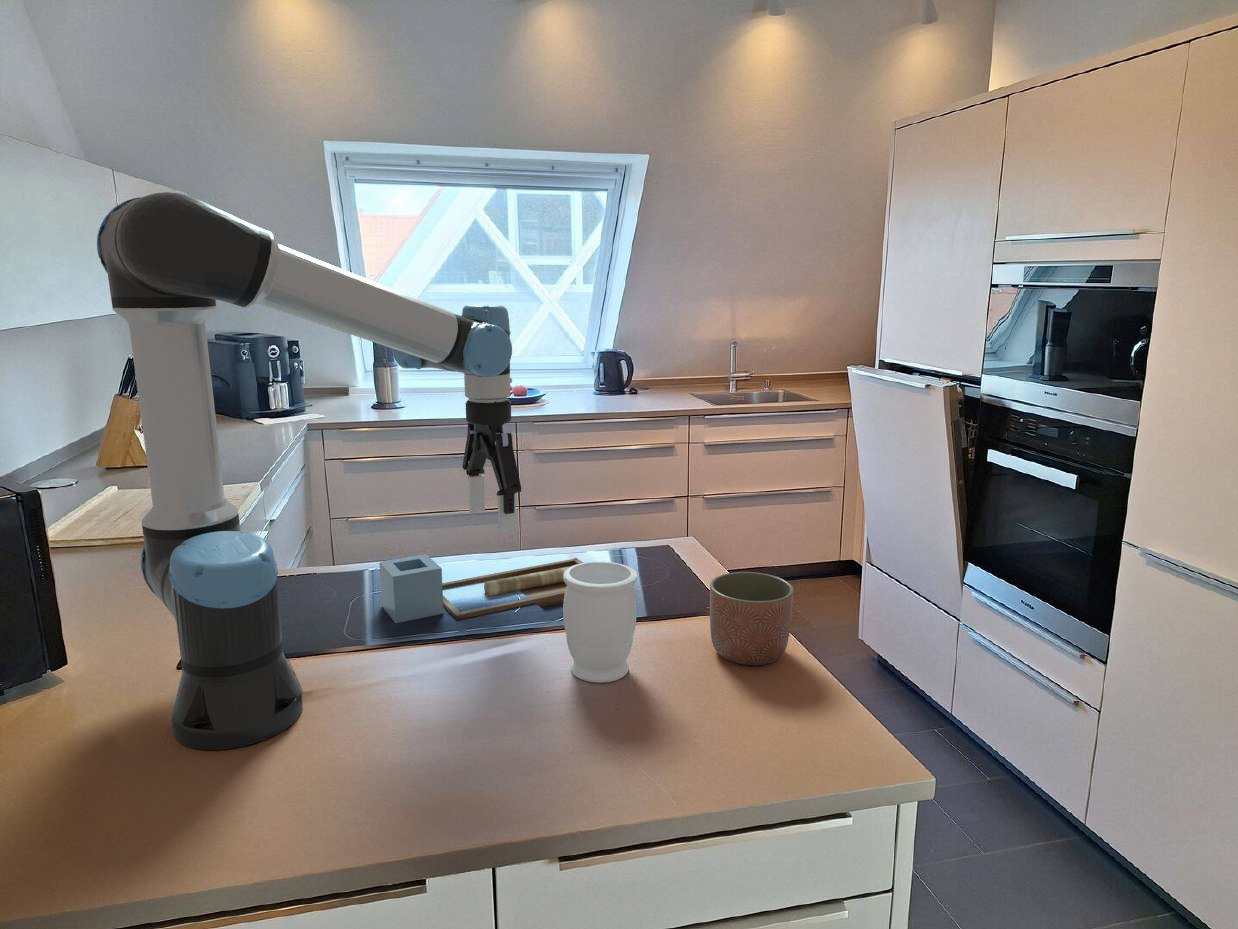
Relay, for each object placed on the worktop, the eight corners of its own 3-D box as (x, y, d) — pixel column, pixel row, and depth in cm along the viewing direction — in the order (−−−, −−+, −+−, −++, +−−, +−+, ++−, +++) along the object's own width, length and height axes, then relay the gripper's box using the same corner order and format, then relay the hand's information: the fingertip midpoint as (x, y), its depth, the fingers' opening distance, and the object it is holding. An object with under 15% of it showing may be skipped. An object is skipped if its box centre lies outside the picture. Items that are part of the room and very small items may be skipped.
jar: (650, 670, 119) (652, 572, 116) (600, 695, 112) (601, 592, 108) (598, 647, 126) (598, 555, 123) (548, 670, 119) (547, 572, 115)
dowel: (496, 621, 144) (593, 577, 153) (485, 585, 142) (584, 542, 151) (491, 617, 146) (587, 574, 155) (480, 581, 144) (578, 540, 153)
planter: (742, 680, 117) (745, 608, 114) (691, 646, 127) (693, 580, 124) (807, 660, 123) (811, 592, 120) (753, 630, 133) (757, 566, 131)
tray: (615, 591, 149) (615, 582, 148) (456, 625, 134) (456, 615, 133) (576, 566, 161) (576, 558, 161) (427, 595, 146) (427, 586, 146)
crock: (443, 619, 136) (441, 568, 134) (395, 629, 132) (392, 576, 130) (428, 603, 143) (426, 554, 141) (382, 612, 139) (379, 561, 137)
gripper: (540, 407, 128) (542, 537, 133) (481, 388, 149) (484, 501, 154) (496, 411, 124) (499, 544, 129) (441, 391, 145) (446, 506, 150)
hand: (491, 521), depth 141 cm, fingers open, 13 cm apart
